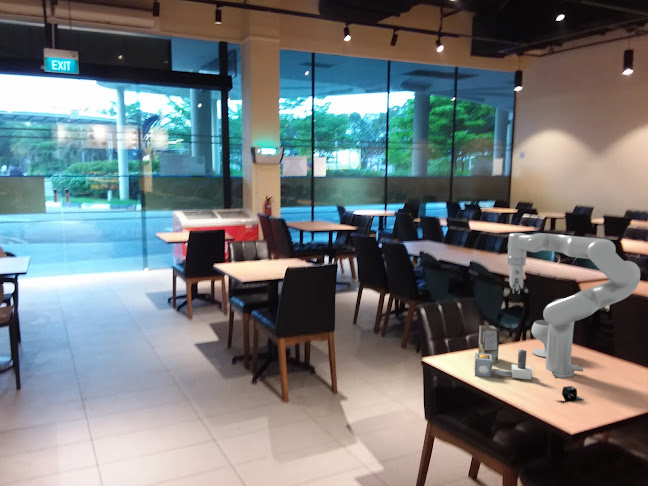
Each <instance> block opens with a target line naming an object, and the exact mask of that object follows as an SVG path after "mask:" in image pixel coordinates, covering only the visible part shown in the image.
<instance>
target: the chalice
mask: <svg viewBox="0 0 648 486" xmlns="http://www.w3.org/2000/svg"><path fill="white" fill-rule="evenodd" d="M548 326H549V323H547V322H546V321H545V319H537V320H535V321H534V322H533V324H532V326H531V334H532V336H533V338H534V339H535V338H536V339H537V340H538V341H540V342H541V343H542V344H543V345H544V348H538V349H533V350H532V353H533V355H534V356H535V355H536V356H538V357H541V358H545V359H546V353H547V338H548Z"/></svg>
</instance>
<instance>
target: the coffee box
mask: <svg viewBox="0 0 648 486" xmlns="http://www.w3.org/2000/svg"><path fill="white" fill-rule="evenodd" d="M478 328H479V331H478V334H479V335H478V353H483V354H492V360H493V361H492V364H498V363H499V362H498V361H499V346H500V330H499V329H498V327H497V326H495V325H493V324H484V325H483V324H480V325H479V327H478Z"/></svg>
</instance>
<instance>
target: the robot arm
mask: <svg viewBox="0 0 648 486" xmlns="http://www.w3.org/2000/svg"><path fill="white" fill-rule="evenodd" d="M507 242H508V243H507V244H508V245H507V265H509V277H508V278H509V286H510V288H509V298H511V303H514V304H515V303H517V304H519V303H520V297H521V293H520V292H521V290H522V289H523V288H524V267H526V265H527V262H526V261H527V252H529V253H530V252H531V253H538V252H541V251H545V252H546V251H548V252H556V253H560V254H561V253H562V254H563V255H565V256H568V257H571V258H577V259H588V260H590V261H591V262H592V263H593V264H594V266H595V267H596V268H598V269H599V271H601V273H603V275H604V276H606V278H607V279H608V281H605V282H603V283H600V284H599V285H596V286H593V287H590V288H588V289H584V290H580V291H578V292H576V293H575V294H573V295H570V296H567V297H565V298H557V299H554V300H553V301H552V302H550V303H548V304H547V305H546V306H545V308H544V309H543V312H542V313H543V314H542V315H543V320H545V321H546V322H547V323H549V326H548V338H547V353H546V358H545V369H546V370H547V371H549V372H551V374H552V376H553V377H554V378H560V379H561V378H563V379H566V378H572V377H574V376H575V372H580V373H581V372H583V371H584V367H583V366H579V365H577V364H572V353H573V352H572V349H573V337H574V328H575V327H574V326H575V322H576V321H580V320H582V319H585V318H587V317H589V316H591V315H593V314H594V313H595V312H597V311H598V310H600V309H602V308H605V307H607V306H610V305H613V304H615V303H618V302H620V301H622V300H623V301H624V300H625V299H626V298H629V296H630V295H632V294H633V293H634V292H635V290H636V289H637V288H638V286H639V285H640V280H641V279H640V278H641V270H640V267H639V266H638V265H637V264H636V262H633V261H631V260H624V259H623V258H621V256H619V255H618V253H617V252H616V250H617V249H616V245H615V244H614V242H613V241H611V240H609V239H606V238H597V237H587V236H577V235H576V236H575V235H564V234H557V233H556V234H555V233H547V232H546V233H543V232H542V233H541V232H538V233H533V234H527V233H522V232H512V233H510V234H508V241H507Z"/></svg>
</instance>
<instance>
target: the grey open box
mask: <svg viewBox="0 0 648 486" xmlns="http://www.w3.org/2000/svg"><path fill="white" fill-rule="evenodd" d="M481 354H483V353H479V352H474V377H477V376H483V377H482V378H487V377H492V370H493V363H492V361H493V360H492V354H484V355H488V359H485V358H479V355H481Z"/></svg>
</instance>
